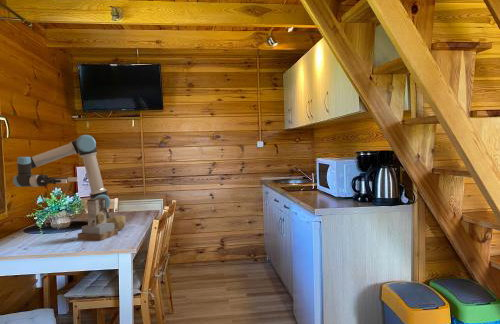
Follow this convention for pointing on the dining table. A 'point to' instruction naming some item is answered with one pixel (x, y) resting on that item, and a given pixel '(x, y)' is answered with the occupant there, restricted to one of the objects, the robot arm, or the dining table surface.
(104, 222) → the coffee box
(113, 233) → the walnut base block
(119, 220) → the low-poly potato
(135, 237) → the dining table surface
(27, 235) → the dining table surface
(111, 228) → the slate top block
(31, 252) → the dining table surface
